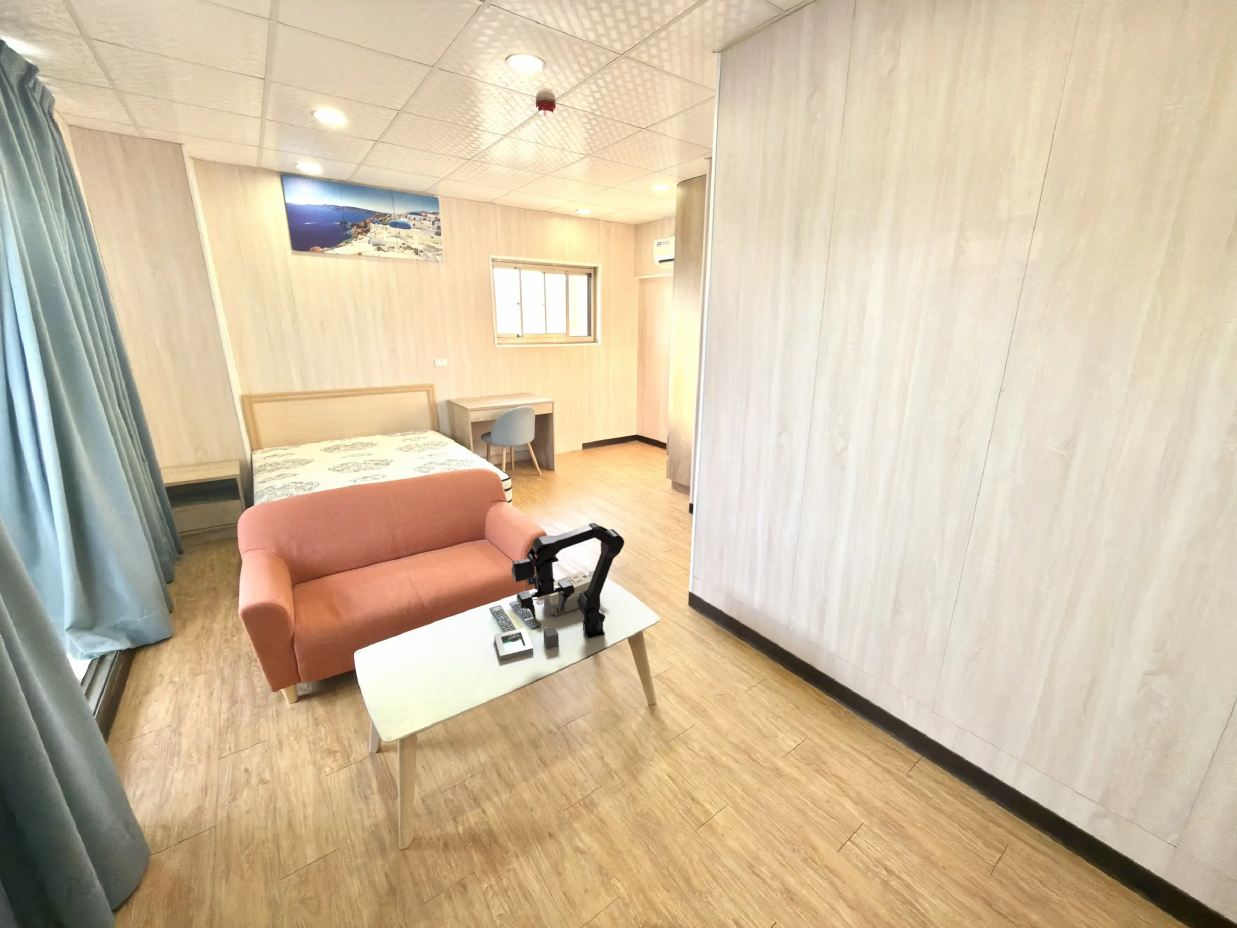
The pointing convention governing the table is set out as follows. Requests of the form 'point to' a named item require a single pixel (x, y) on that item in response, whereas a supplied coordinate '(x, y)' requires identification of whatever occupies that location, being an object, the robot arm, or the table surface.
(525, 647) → the socket
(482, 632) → the table surface
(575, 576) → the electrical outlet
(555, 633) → the block
